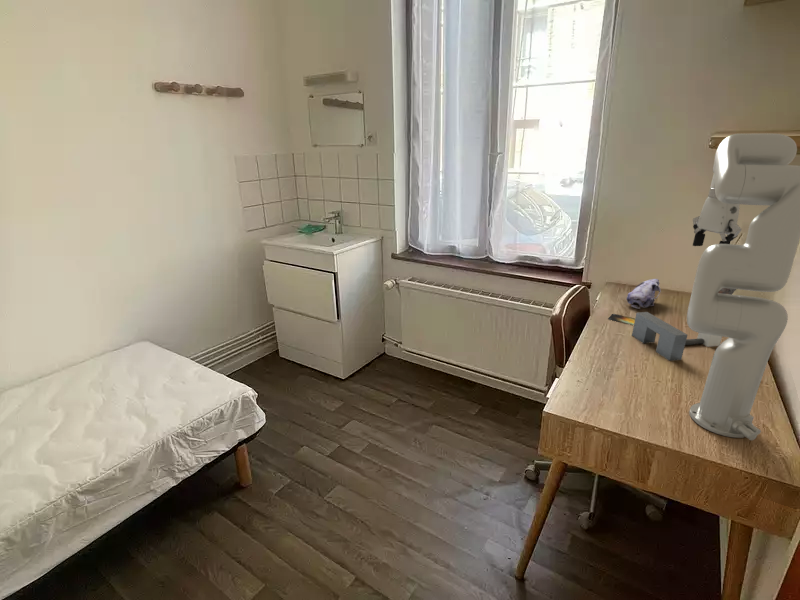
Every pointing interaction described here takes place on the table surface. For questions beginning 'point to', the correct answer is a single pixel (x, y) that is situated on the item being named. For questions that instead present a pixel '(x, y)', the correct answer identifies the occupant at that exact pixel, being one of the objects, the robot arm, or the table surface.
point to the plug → (705, 340)
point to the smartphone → (622, 319)
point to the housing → (669, 338)
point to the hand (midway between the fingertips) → (709, 249)
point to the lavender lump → (644, 294)
